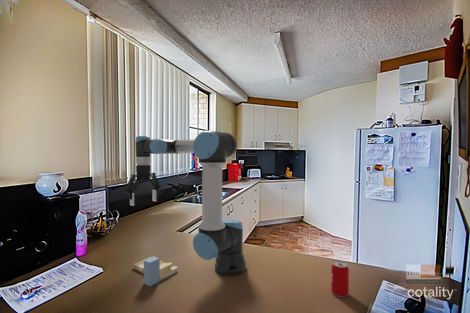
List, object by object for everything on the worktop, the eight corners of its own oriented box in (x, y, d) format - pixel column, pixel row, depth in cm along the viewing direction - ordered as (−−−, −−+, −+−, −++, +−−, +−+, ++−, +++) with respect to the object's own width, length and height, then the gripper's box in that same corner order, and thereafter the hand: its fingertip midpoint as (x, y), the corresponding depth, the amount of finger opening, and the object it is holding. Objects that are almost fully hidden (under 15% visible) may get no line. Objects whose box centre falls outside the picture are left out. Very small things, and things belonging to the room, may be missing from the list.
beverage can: (343, 289, 100) (344, 260, 99) (351, 298, 94) (351, 267, 93) (328, 289, 100) (328, 260, 99) (335, 298, 93) (335, 267, 93)
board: (177, 271, 114) (177, 267, 114) (160, 280, 106) (160, 276, 106) (151, 260, 126) (151, 256, 126) (133, 268, 118) (133, 264, 118)
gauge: (174, 273, 113) (173, 252, 112) (149, 286, 102) (149, 262, 102) (168, 271, 115) (168, 250, 115) (144, 283, 104) (143, 260, 104)
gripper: (158, 163, 146) (158, 198, 146) (117, 165, 126) (117, 206, 126) (166, 163, 141) (166, 200, 142) (125, 165, 121) (125, 208, 122)
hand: (143, 203), depth 134 cm, fingers open, 13 cm apart
